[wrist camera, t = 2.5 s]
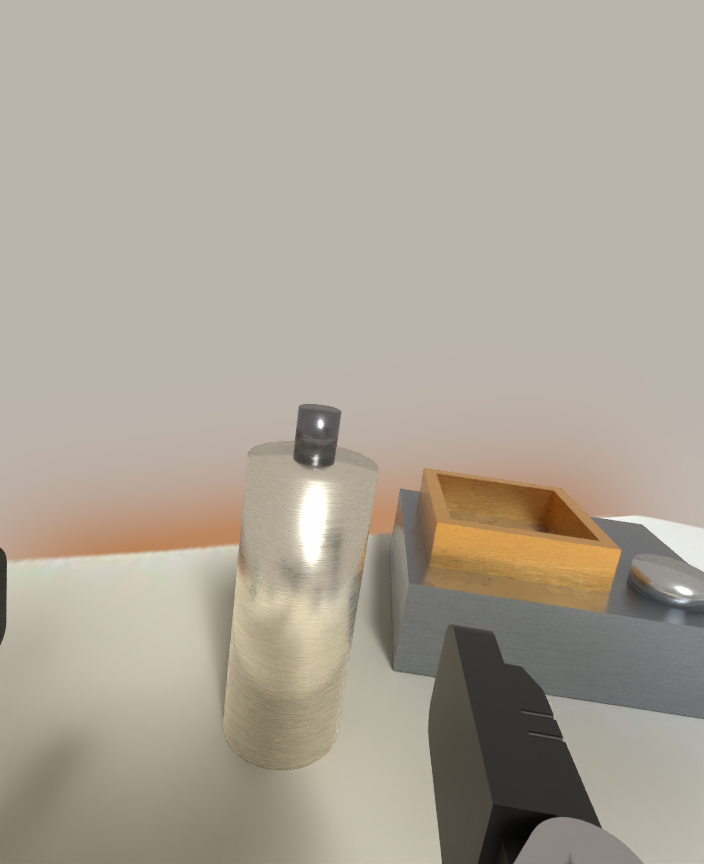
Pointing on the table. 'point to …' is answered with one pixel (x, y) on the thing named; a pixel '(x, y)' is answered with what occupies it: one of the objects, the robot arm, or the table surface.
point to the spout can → (296, 592)
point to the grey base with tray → (547, 592)
